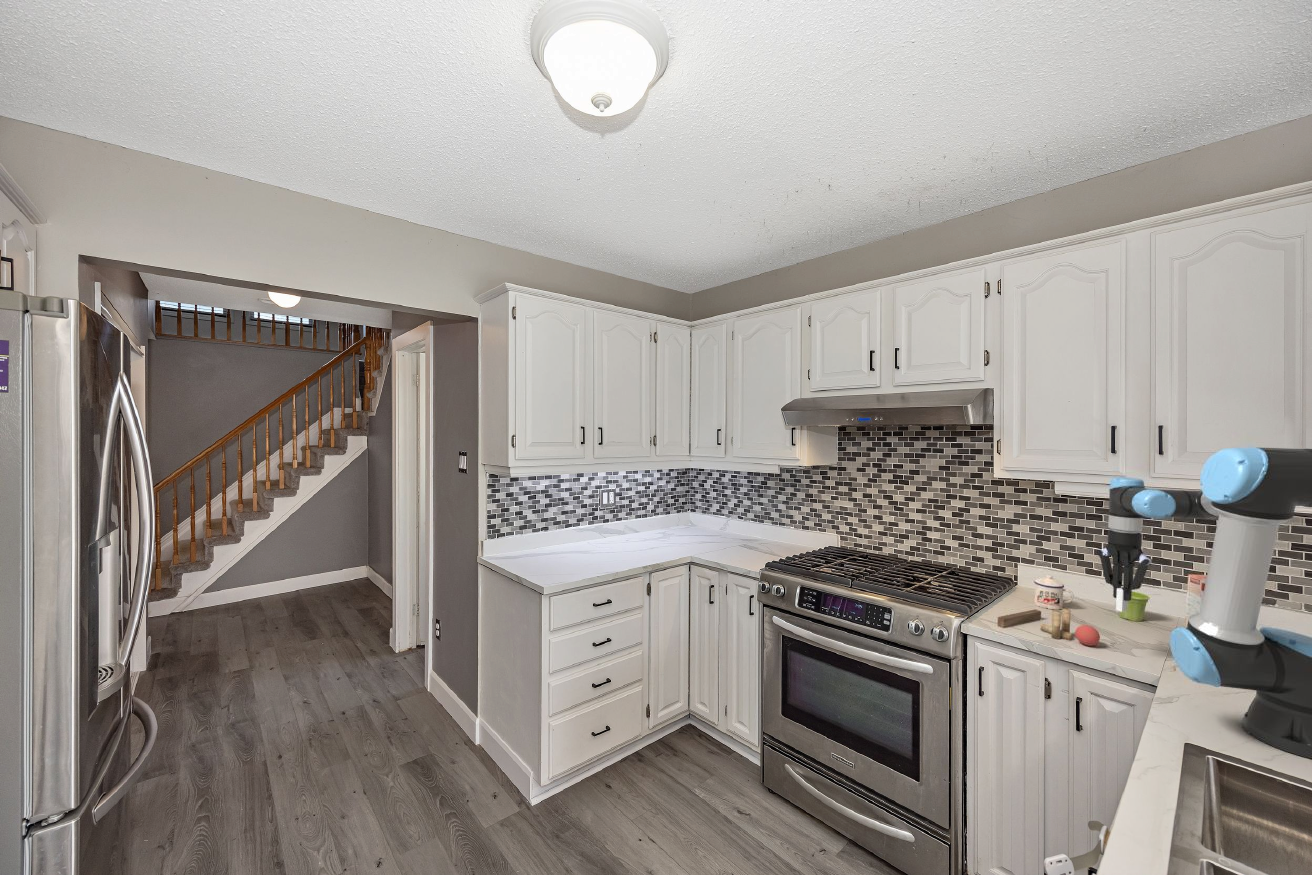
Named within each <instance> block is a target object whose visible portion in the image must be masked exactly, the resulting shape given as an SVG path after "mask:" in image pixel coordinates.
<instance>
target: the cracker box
mask: <svg viewBox="0 0 1312 875" xmlns="http://www.w3.org/2000/svg"><path fill="white" fill-rule="evenodd" d="M1206 578H1207V574H1187V589H1186V590H1187V591H1186V601H1185V602H1186V603H1185V604H1186V606H1185V619H1184V620H1185V621H1184V628H1187V624H1188V619H1189V617H1190V616H1191V615H1193V614H1196V613H1200V608H1201V603H1202V598H1203V593H1204V588H1205V583H1206Z"/></svg>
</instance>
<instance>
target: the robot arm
mask: <svg viewBox="0 0 1312 875" xmlns="http://www.w3.org/2000/svg"><path fill="white" fill-rule="evenodd" d="M1199 479H1200V480H1199V484H1200V486H1202V487H1201V489H1200V490H1184V489H1164V488H1163V489H1160V488H1159V489H1158V488H1156V489H1155V488H1146V486H1145V481H1144V480H1143V479H1141V478H1135V477H1121V476H1120V477H1118V476H1117V477H1113V478H1111V479H1110V483H1109V485H1110V486H1109V489H1108V491H1109V492H1108V493H1109V494H1108V496H1109V499H1108V501H1109V504H1108V521H1107V522H1108V524H1107V526H1108V531H1107V544H1106V546H1105V548H1102V549H1097V550H1096V553H1097V555H1098V556H1099V558H1100V563H1101V567H1102V572H1103V575H1104V579H1105V583H1106V584H1109V585H1110V586H1112V588H1113V594H1112V597H1113V598H1114V599H1116V601H1115V602H1116V603H1115V605H1116V606H1115V611H1118V612H1119V611H1120V612H1124V611H1127V604H1128V601H1131V596H1132V591H1133V590H1134V591H1135V590H1140V589H1141V587H1142V584H1143V581H1144V579H1145V576H1146V573H1147V572H1148V567H1149V566H1150V565H1151V564H1152V563H1153V562H1154V560H1153V559H1152V558H1149V557H1147V556H1146V555H1145V554H1144V552H1143V550H1142V545H1143V534H1142V531H1143V517H1145V518H1148V519H1158V520H1162V519H1166V518H1172V519H1196V520H1197V519H1198V520H1199V519H1200V520H1210V521H1217V523H1216V524H1217V525H1216V530H1215V535H1214V540H1213V545H1212V550H1211V555H1210V558H1209V565H1208V570H1207V574H1206V575H1207V578H1206V583H1205V588H1204V593H1203V598H1202V603H1201V608H1200V613H1196V614H1193V615H1191V616H1190V617H1189V619H1188V624H1187V628H1185V627H1182V626H1180V627H1176V628H1175V629H1173V630H1172V631H1171V632H1170V635H1169V645H1170V646H1169V647H1170V651H1171V654H1172V657H1173V660H1174V662H1175V663H1176V665H1177V668H1179V670H1180V672H1181V673H1183V675H1184V676H1185V677H1187V678H1188V679H1189V680H1191V681H1192V682H1194V683H1197V684H1202V685H1209V686H1212V687H1216V688H1219V687H1221V688H1223V687H1224V688H1231V689H1239V690H1241V689H1242V690H1249V691H1255V697H1254V698H1253V699H1252V702H1251V703H1250V705H1249V706H1248V709H1247V711H1246V712H1245V713H1244V714H1243V718H1242V727H1244V728H1243V729H1244V731H1245V732H1247V733H1248V732H1249V733H1248V734H1249V735H1250V734H1251V735H1250V736H1251V737H1253V738H1255V739H1257V740H1259V741H1261V742H1262V743H1264V744H1266V745H1269V746H1272V747H1274V748H1276V749H1278V750H1282V751H1284V752H1288V753H1290V754H1293V755H1297V756H1300V757H1303V758H1308V759H1312V636H1308V635H1305V634H1301V633H1297V632H1294V631H1291V630H1287V629H1283V628H1282V629H1281V628H1278V627H1277V628H1276V627H1270V626H1262V627H1260V628H1259V629H1258V628H1257V625H1258V619H1259V615H1260V612H1261V607H1262V602H1263V598H1264V595H1265V588H1266V585H1267V580H1268V577H1269V571H1270V567H1271V562H1272V560H1273V559H1272V558H1273V555H1274V550H1275V546H1276V542H1277V538H1278V537H1277V536H1278V532H1279V528H1280V525H1281V524H1284V523H1286V522H1289V521H1292V520H1293V519H1294V513H1295V510H1296V507H1304V508H1312V448H1288V447H1287V448H1286V447H1283V448H1282V447H1280V448H1279V447H1258V446H1245V447H1229V448H1228V447H1227V448H1224V449H1221V450H1218V451H1216V452H1215V453H1214V454H1212V455H1210V457H1209V458H1208V459H1207V460H1206V461H1205V463H1204V464H1203V466H1202V469H1201V473H1200V477H1199ZM1110 556H1111V558H1112V562H1111V558H1110ZM1138 560H1139V564H1138V566H1137V568H1136V571H1135V574H1134V570H1135V569H1134V568H1135V563H1136V562H1137V561H1138ZM1112 564H1113V565H1112Z"/></svg>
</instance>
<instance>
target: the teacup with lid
mask: <svg viewBox="0 0 1312 875" xmlns="http://www.w3.org/2000/svg"><path fill="white" fill-rule="evenodd" d="M1033 583H1034V595H1033V596H1034V597H1033V598H1034V599H1033V600H1034V601H1033V603H1034V605H1035V606H1037V607H1039V606H1040V607H1039V608H1042V607H1044V608H1043V609H1046V608H1048V609H1047V610H1052V609H1054V610H1053V611H1059V609H1060V610H1062V609H1063V604H1067V603H1071V602H1072V601H1073V600H1074V592H1073V591H1071V590H1070V589H1066V588H1065V585H1064V583H1063V582H1061V581H1059V580H1057V579H1055V578H1054V577H1053V575H1050V574H1046V575H1045V577H1041V578H1036V579H1034V580H1033ZM1064 592H1067V593H1069V594H1070V595H1071V596H1070V598H1069V599H1067V600H1064Z"/></svg>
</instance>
